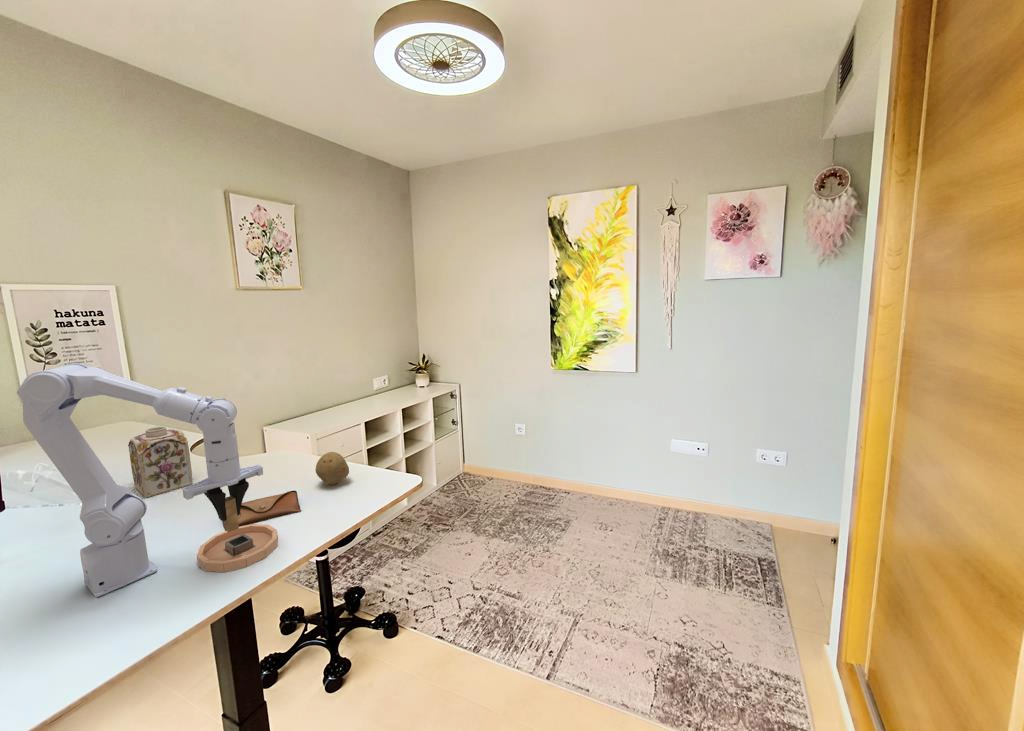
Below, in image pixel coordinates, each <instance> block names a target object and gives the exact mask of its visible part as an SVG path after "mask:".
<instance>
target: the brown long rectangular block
mask: <svg viewBox="0 0 1024 731" xmlns="http://www.w3.org/2000/svg"><path fill="white" fill-rule="evenodd" d="M225 508H226V514H227V520H225V521H224V526H223V530H224V531H225V530H226V531H227V532H231V531H233V530H236V529H238V528H239V525H238V516H237V508H236V500H235V498H234V497H232V496H230V495H229V496H226V498H225Z"/></svg>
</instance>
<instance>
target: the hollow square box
mask: <svg viewBox="0 0 1024 731" xmlns="http://www.w3.org/2000/svg"><path fill="white" fill-rule="evenodd" d="M254 547H255V545H253V539H252V538H250V537H249V536H247V535H245V534H244V535H243V534H242V535H240V536H238V537H235V538H233V539H231V540H229V541H226V543H225V549H223V550H224V551H226V552H227V553H228V554H230V555H231V556H233V557H234V556H237V555H239V554H241V553H243V552H245V551H247V550H249V549H252V548H254Z"/></svg>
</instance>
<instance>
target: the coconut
mask: <svg viewBox="0 0 1024 731" xmlns="http://www.w3.org/2000/svg"><path fill="white" fill-rule="evenodd" d="M315 473H316V475H317V477H318V478H319V479H320V480H321V481H322V482H323V483H325V484H327V485H330V486H334V485H337V484H338V483H340V481H342V480H344V479H346V478H347V477H348V475H349V474H350V467H349V465H348V463H347V461H346V460H345V458H344V457H343V456H342V454H340V453H338V452H334V451H329V452H326V453H324V454H323V455H322V456H321V457H320V458H319V459H318V461H317V462H316V464H315Z"/></svg>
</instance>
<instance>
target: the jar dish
mask: <svg viewBox="0 0 1024 731" xmlns="http://www.w3.org/2000/svg"><path fill="white" fill-rule="evenodd" d="M242 534H243V535H244V534H245V535H247V536H249V537H250V538H252V539H253V545H255V547H254V548H252V549H249V550H247V551H245V552H243V553H241V554H239V555H237V556H234V557H233V556H231V555H230V554H228V553H227V552H226V551H224V550H223V549H225V543H226V541H229V540H231V539H233V538H235V537H238V536H240V535H242ZM278 540H279V536H278V529H276V528H275V527H273V526H271V525H270V524H261V523H260V524H259V523H253V524H249V525H245V526H240V527H239V528H238V529H236V530H233V531H231V532H227V531H225V530H224V531H222V532H220V533H217V534H214V535H213V536H212V537H210V538H209V539H207V540H206V541H205V542H203V544H201V545H200V546H199V549H198V551H197V553H196V561H197V566H199V567H200V568H202V570H203V571H205V572H213V573H227V572H230V571H231V572H232V571H237V570H240V569H243V568H247V567H249V566H251V565H254V564H255V563H257V562H259V561H261V560H263V559H265V558H267V557H268V556H269V555H270V554H271V553H272V552H273V551H274V550H275V549H276V548H278Z"/></svg>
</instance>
